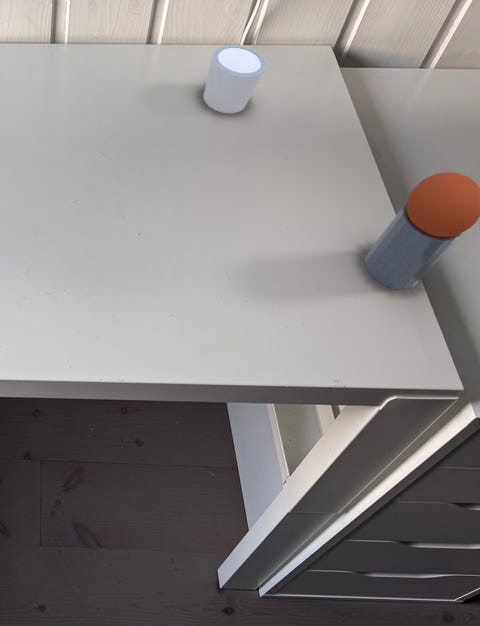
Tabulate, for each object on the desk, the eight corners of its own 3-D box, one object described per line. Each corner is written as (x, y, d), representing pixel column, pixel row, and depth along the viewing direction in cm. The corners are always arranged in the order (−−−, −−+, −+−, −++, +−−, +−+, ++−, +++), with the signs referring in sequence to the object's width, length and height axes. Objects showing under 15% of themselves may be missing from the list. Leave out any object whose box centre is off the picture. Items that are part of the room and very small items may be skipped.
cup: (403, 253, 78) (449, 198, 71) (422, 294, 75) (473, 241, 67) (353, 252, 78) (394, 197, 70) (370, 294, 74) (415, 240, 67)
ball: (443, 206, 72) (482, 160, 67) (467, 252, 68) (511, 207, 63) (385, 203, 71) (420, 156, 66) (406, 249, 68) (445, 203, 63)
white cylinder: (254, 101, 93) (274, 56, 87) (237, 127, 89) (255, 83, 84) (208, 82, 95) (224, 37, 89) (189, 108, 91) (204, 63, 86)
